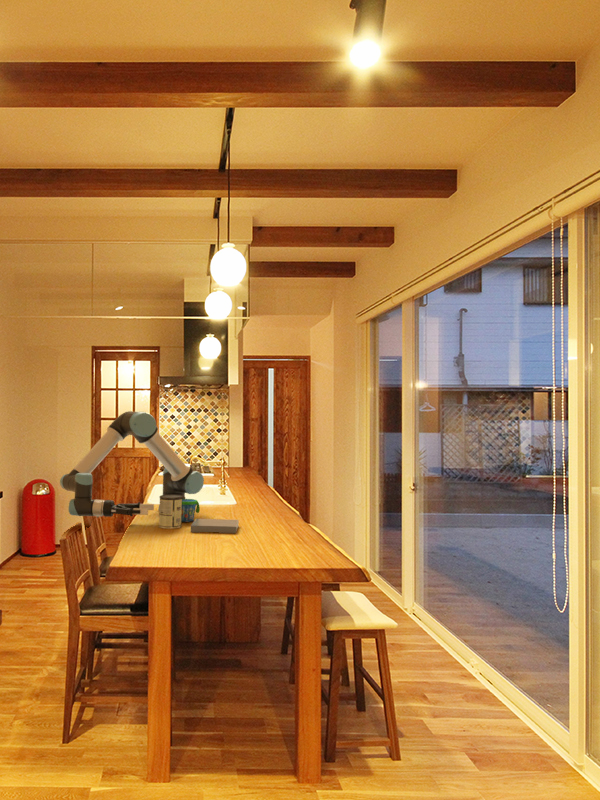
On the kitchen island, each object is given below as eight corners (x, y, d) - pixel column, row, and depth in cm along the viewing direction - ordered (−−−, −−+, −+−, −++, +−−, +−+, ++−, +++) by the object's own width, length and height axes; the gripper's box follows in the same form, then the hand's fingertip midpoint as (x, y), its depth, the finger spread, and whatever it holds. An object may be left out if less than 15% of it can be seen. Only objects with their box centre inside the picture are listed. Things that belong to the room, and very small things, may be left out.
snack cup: (192, 518, 331) (193, 497, 331) (205, 521, 323) (206, 500, 323) (165, 521, 320) (166, 499, 320) (178, 524, 312) (178, 502, 312)
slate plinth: (195, 525, 312) (195, 518, 312) (238, 526, 312) (238, 519, 312) (190, 532, 294) (190, 525, 294) (236, 533, 294) (236, 526, 294)
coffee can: (162, 524, 311) (163, 494, 311) (183, 525, 310) (185, 495, 310) (155, 528, 301) (156, 496, 301) (177, 529, 300) (178, 498, 300)
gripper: (110, 512, 317) (155, 513, 317) (96, 521, 292) (145, 522, 292) (111, 496, 317) (156, 497, 317) (97, 503, 292) (145, 505, 292)
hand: (151, 509), depth 305 cm, fingers open, 13 cm apart
